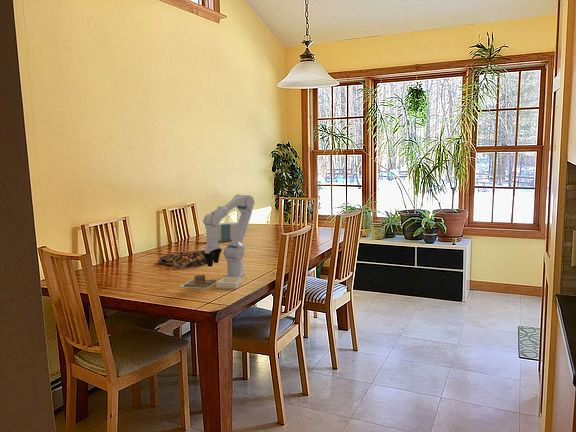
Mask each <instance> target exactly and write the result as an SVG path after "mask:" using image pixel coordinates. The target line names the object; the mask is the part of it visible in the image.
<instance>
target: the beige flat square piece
mask: <svg viewBox="0 0 576 432" xmlns="http://www.w3.org/2000/svg"><path fill="white" fill-rule="evenodd" d="M193 279H194V278H193ZM193 279H190V280H188V281H187V282H185V283H183V284H182V285H180V286H178V288H180V289H181V288H182V289H183V288H184V289H198V290H199V289H200V290H209V289H210V288H212V287H213V286H214V285H216V282H217V281H218V280H216V281H215V282H214V283H213V284H211V285H210V286H208V287H207V288H203V287H185V286H184V285H185V284H187V283H188V282H190V281H191V280H193Z"/></svg>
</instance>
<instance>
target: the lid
mask: <svg viewBox="0 0 576 432" xmlns="http://www.w3.org/2000/svg"><path fill="white" fill-rule="evenodd" d="M190 280H191V281H190ZM190 280H189V281H190V282H188V281H187V282H188V283H187V282H186V283H187V284H185V283H184V284H185V285H184V286H185V287H203V288H207V287H208V286H210V285H211V284H213V283H214V282H215V281H217V280H216V279H206V275H205V274H199V273H198V274H196V275H195V276H194V278H193V280H192V279H190Z"/></svg>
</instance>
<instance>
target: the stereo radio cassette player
mask: <svg viewBox="0 0 576 432" xmlns="http://www.w3.org/2000/svg"><path fill="white" fill-rule="evenodd" d="M232 215H234V213H233V214H230V215H229V216H228V215H227V216H226V217H224V218H223V219H222V220H221V221H220V223H219V225H217V226H218V243H219V242H228V241H229V242H231V241H232V239H233V236H234V233H235V230H236V227H237V224H238V221H230V222H223V221H224V220H226V219H228V218H230V217H231V216H232Z"/></svg>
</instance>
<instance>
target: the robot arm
mask: <svg viewBox="0 0 576 432" xmlns="http://www.w3.org/2000/svg"><path fill="white" fill-rule="evenodd" d="M254 205H255V199H254V197H253V196H252V195H251V194H240V193H239V194H235V195H234V196H233V197H232V199H230V201H229V202H227V203H226V204H225V205H223V206H222V205H221V206H218V207H217V208H216V209H215V210H212V211H211V212H210V213H207V214H205V216H204V217H203V219H202V223H203V224H204V227H205V236H206V238H205V240H206V245H205V246H204V250H205V252H204V253H203V255H204V257H205V259H206V261H207V264H206V266H207V267H213V264H218V263H219V262H220V261H219V260H220V256H221V252H222V250H223V257H224V258H225V260H226V264H227V265H226V266H227V267H226V269H227V275H225V276H224V277H233V278H242V277H243V276H244V275H245V272H244V263H243V258H244V256H245V246H244V244H243V241H244V238H245V235H246V232H247V230H248V226H249V223H250V220H251V216H252V212H253V209H254ZM235 208H237V210H238V211H239V212H240V216H239V218H238V221H237V223H238V224H237V227H236V230H235V233H234V236H233V239H232V241H229V242H228V243H227V245H226V246H225V248H224V249H223V248H221V247H220V246H221V245H220V243H219V242H218V226H217V225H219V223H221V222H222V220H223V219H225V218H227V217H228V214H229V212H230V211H232V210H234V209H235ZM220 221H221V222H220Z"/></svg>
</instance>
